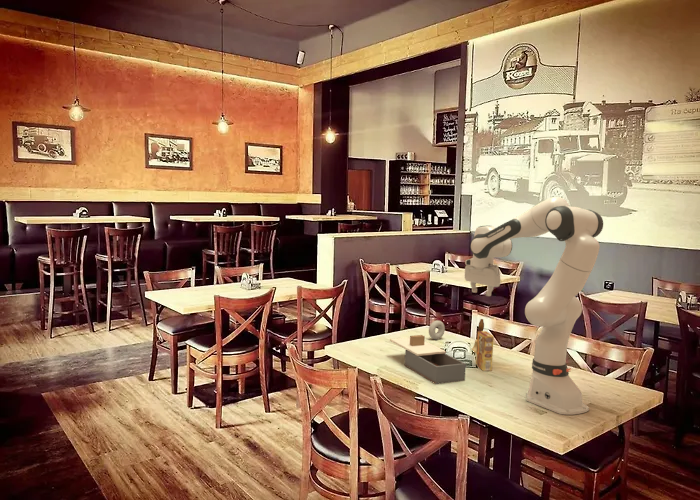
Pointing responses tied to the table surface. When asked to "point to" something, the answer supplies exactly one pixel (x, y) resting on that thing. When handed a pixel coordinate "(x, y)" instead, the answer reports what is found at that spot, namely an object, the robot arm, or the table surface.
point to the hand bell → (481, 327)
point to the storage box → (436, 367)
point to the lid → (417, 345)
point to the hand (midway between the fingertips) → (481, 294)
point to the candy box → (484, 350)
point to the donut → (440, 329)
